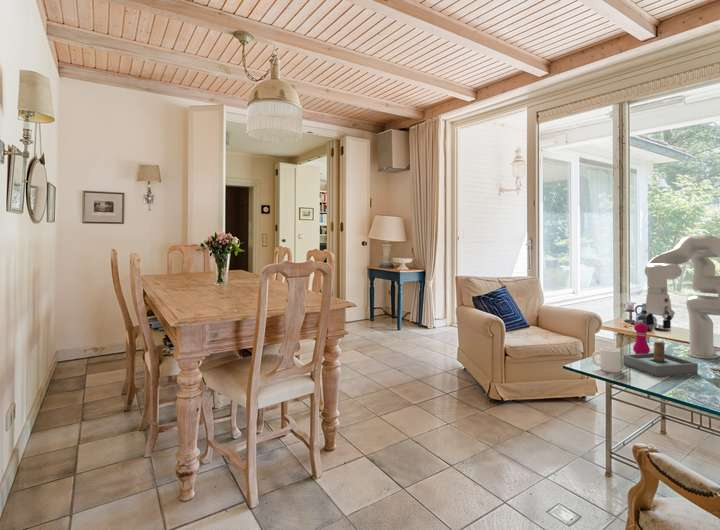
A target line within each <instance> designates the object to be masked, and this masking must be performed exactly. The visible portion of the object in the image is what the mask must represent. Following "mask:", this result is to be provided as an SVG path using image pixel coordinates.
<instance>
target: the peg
mask: <svg viewBox="0 0 720 530" xmlns="http://www.w3.org/2000/svg"><path fill="white" fill-rule="evenodd" d="M665 345H666V343H665V342H664V341H654V342H653V353H654V362H655V363H664V353H665Z"/></svg>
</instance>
